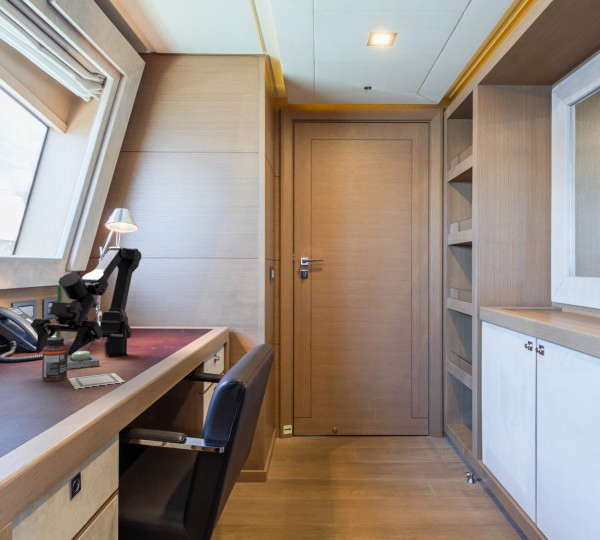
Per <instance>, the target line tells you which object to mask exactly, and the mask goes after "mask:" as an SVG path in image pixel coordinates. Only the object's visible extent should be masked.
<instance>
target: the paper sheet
mask: <svg viewBox="0 0 600 540" xmlns="http://www.w3.org/2000/svg"><path fill="white" fill-rule="evenodd" d="M68 381H69V383H70V382H71V383H70V384H71V385H72V387H73V386H74V387H73V388H74V390H79V389H78V388H82V389H86V388H85V387H90V388H93V387H92V386H97V387H100V386H99V385H105V386H108V385H107V384H113V385H116V384H115V383H120V384H122V383H121V382H125V383H126V381H124V379H122V378H121V377H120V376H119V375H117V374H116V373H115V372H113V373H112V372H111V373H104V374H103V373H102V374H96V375H95V374H94V375H87V376H78V377H69V378H68Z"/></svg>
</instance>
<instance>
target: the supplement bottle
mask: <svg viewBox="0 0 600 540" xmlns="http://www.w3.org/2000/svg"><path fill="white" fill-rule="evenodd" d="M67 349H68V348H67V346H66V345H65V344H64V338H63V337H56V336H51V338H48V339H47V345H46V346H45V347H44V348H43V350H42V366H41V367H42V370H41V372H42V373H41V376H42V377H41V379H42V381H45V382H57V381H62V380H64V379H66V378H67V376H68V369H67V357H68V351H67Z"/></svg>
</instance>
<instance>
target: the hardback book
mask: <svg viewBox="0 0 600 540" xmlns="http://www.w3.org/2000/svg"><path fill="white" fill-rule="evenodd" d="M72 300H73V299H69V298H67V296H66V295H65V293H64V291H63V290H62V288H61V287H60V285H59V284H57V301H56V302H66V303H71V302H72ZM58 323H59V322H58V321H56V324H58ZM55 335H56V336H55V337H63V338H64V343H65V342H66V341H67V340H68V339H74V338H76V336H77V333H72V332H64V331H55Z"/></svg>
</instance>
